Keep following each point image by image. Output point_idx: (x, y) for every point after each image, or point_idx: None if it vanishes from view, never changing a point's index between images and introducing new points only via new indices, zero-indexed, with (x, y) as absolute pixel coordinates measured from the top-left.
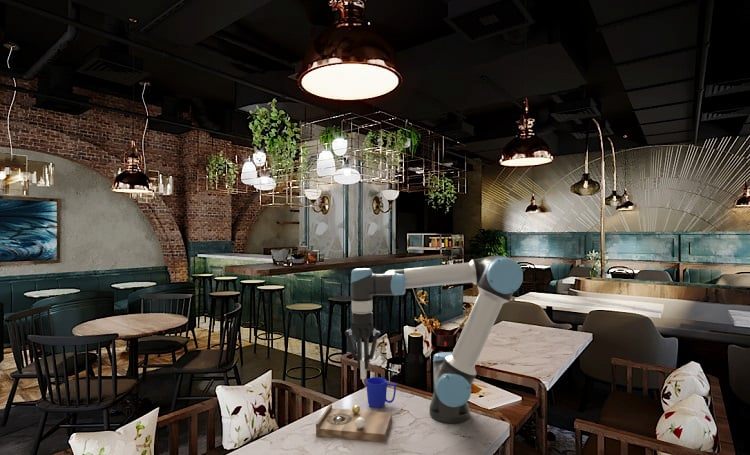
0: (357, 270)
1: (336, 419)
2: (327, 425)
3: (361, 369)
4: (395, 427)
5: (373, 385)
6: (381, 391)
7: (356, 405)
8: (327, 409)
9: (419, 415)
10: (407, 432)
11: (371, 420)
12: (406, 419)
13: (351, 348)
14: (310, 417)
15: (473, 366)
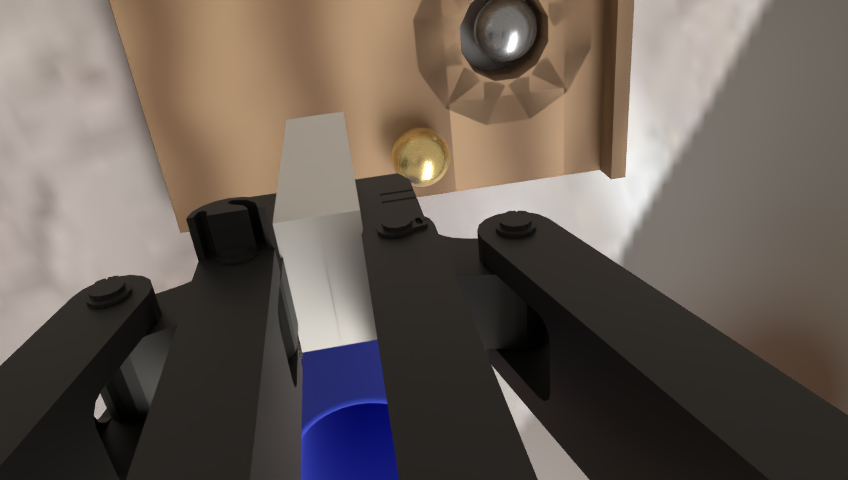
0: None
1: (519, 11)
2: None
3: (332, 155)
4: (119, 123)
5: (362, 394)
6: (307, 388)
7: (422, 170)
8: (621, 95)
9: (43, 318)
10: (5, 81)
11: (271, 83)
12: (99, 246)
13: (650, 319)
14: (707, 83)
15: None
